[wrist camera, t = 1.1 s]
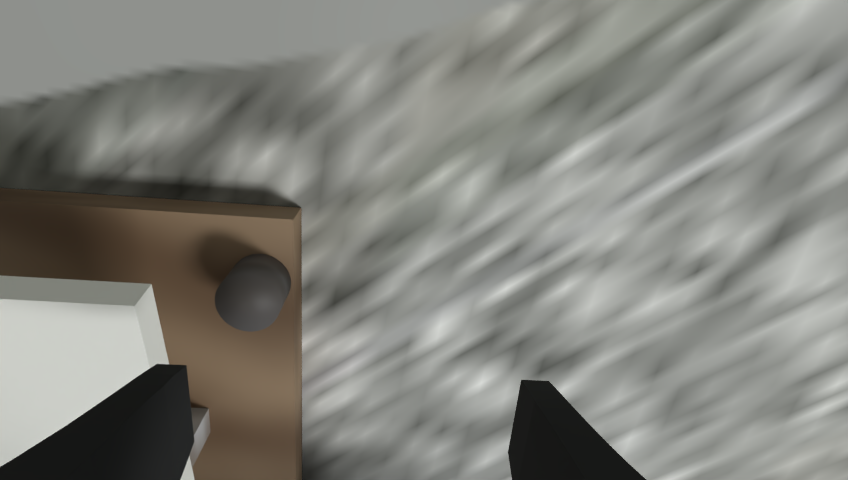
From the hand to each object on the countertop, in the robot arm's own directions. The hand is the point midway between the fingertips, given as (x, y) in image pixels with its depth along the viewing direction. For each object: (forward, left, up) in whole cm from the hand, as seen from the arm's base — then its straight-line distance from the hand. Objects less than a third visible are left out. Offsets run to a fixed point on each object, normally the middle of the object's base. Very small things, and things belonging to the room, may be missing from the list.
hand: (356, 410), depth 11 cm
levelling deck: (-8, +11, -5) cm, 14 cm away
